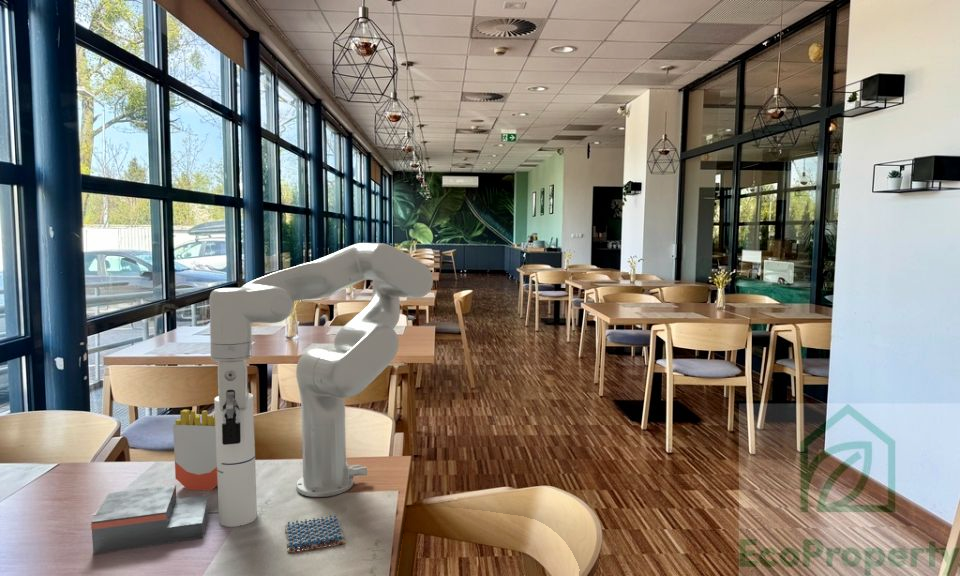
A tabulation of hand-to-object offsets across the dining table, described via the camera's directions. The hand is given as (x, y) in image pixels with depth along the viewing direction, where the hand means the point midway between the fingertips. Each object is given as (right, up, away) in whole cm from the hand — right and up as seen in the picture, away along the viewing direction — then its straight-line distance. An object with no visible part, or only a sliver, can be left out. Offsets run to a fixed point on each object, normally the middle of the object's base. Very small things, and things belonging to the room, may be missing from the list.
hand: (232, 435), depth 123 cm
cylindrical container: (0, -17, +2) cm, 17 cm away
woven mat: (+18, -19, -5) cm, 26 cm away
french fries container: (-14, -16, +18) cm, 27 cm away
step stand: (-14, -18, -3) cm, 23 cm away
